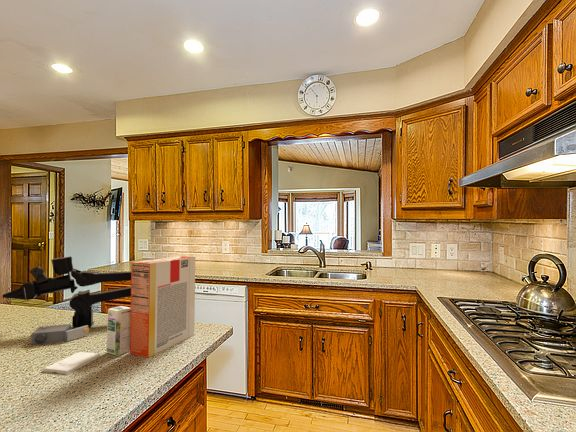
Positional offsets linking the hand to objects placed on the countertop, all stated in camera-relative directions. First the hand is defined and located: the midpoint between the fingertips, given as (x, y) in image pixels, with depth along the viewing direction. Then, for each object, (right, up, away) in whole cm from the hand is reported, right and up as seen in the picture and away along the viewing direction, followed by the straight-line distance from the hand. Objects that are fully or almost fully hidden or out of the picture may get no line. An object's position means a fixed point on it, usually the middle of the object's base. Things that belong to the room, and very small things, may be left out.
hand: (6, 295), depth 123 cm
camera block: (+20, -15, -3) cm, 25 cm away
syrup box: (+50, -16, -14) cm, 54 cm away
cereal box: (+62, -16, -6) cm, 64 cm away
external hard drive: (+41, -16, -24) cm, 50 cm away
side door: (+28, -15, -3) cm, 32 cm away
